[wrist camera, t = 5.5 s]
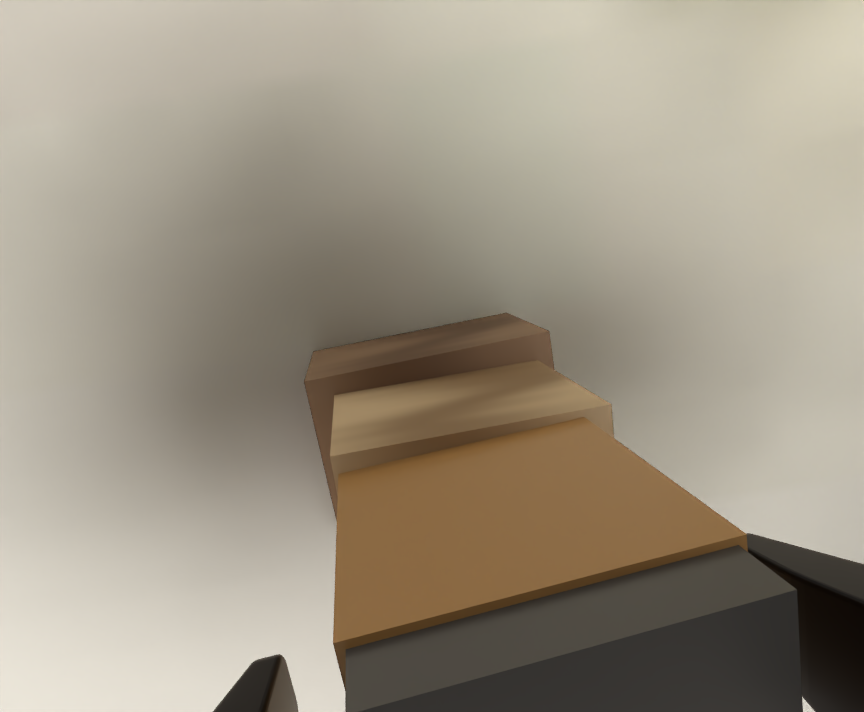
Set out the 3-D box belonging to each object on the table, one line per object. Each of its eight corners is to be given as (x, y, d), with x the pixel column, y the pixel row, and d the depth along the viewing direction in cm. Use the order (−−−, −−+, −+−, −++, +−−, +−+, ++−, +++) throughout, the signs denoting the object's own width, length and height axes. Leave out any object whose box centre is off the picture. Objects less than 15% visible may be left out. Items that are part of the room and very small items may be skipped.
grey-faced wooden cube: (584, 416, 10) (806, 577, 5) (611, 629, 11) (821, 932, 6) (338, 473, 10) (331, 709, 5) (389, 690, 11) (427, 1071, 6)
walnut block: (504, 312, 18) (549, 331, 14) (530, 486, 19) (578, 549, 15) (313, 350, 17) (304, 381, 13) (354, 528, 18) (356, 604, 15)
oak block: (537, 360, 14) (611, 404, 10) (555, 542, 15) (629, 646, 11) (334, 395, 13) (329, 456, 10) (368, 582, 14) (376, 706, 11)
